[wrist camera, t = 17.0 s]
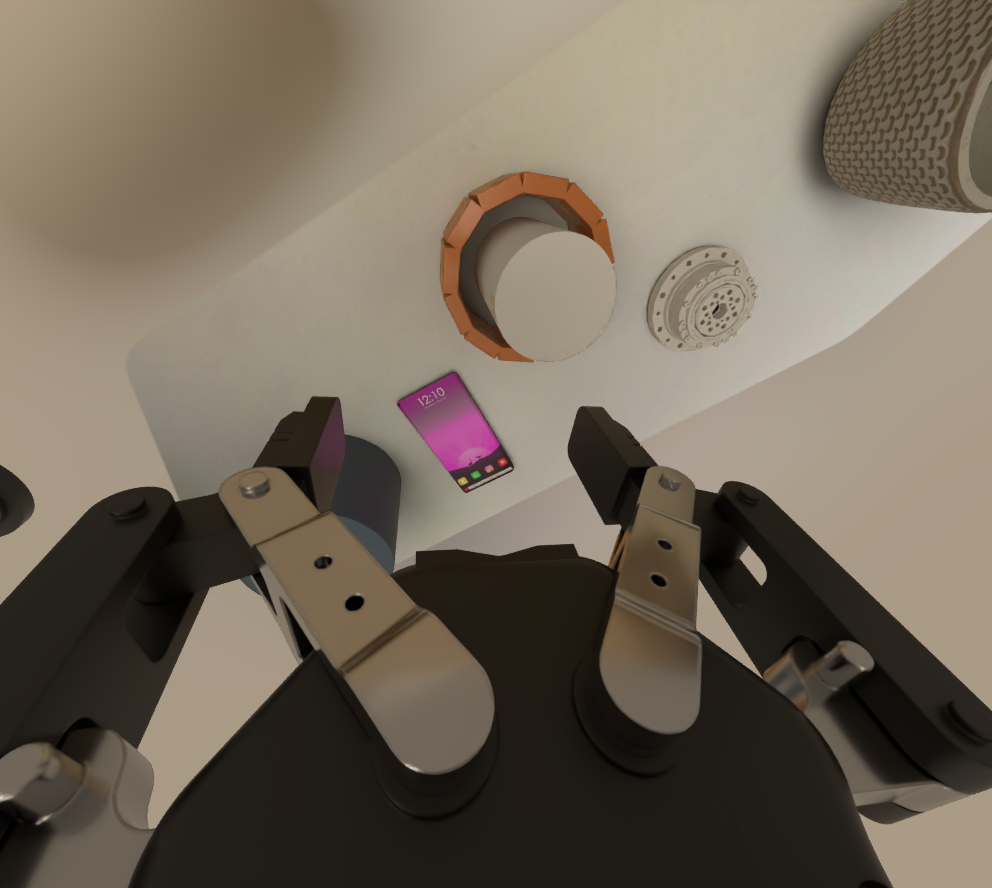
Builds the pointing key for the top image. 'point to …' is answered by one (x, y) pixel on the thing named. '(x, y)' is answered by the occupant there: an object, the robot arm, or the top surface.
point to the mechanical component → (701, 299)
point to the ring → (467, 216)
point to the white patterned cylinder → (545, 287)
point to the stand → (366, 501)
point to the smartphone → (456, 432)
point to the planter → (918, 110)
